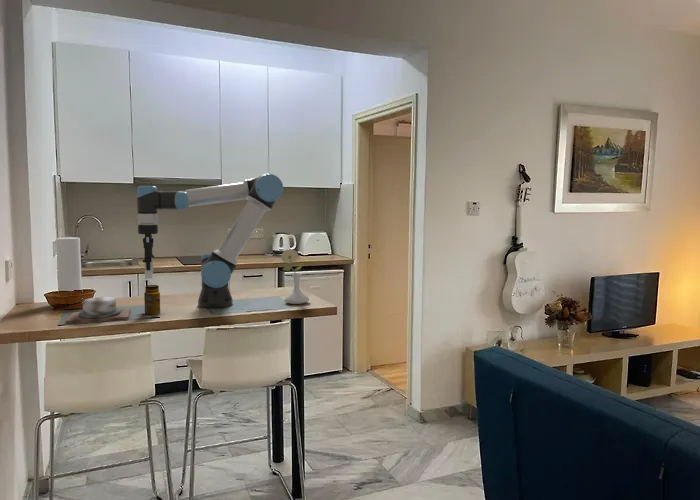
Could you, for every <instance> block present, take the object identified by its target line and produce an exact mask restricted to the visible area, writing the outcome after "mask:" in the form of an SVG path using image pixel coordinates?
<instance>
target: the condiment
mask: <svg viewBox="0 0 700 500" xmlns="http://www.w3.org/2000/svg"><path fill="white" fill-rule="evenodd" d="M144 287H145V290H144V296H143V297H144V299H143V300H144V312H143V313H138V314H136V315H137V316H140V317H144V318H145V317H146V318H150V317H151V318H152V317H154V316H155V317H156V316H160V315H164V314H165V312H161V293H160V289H159V287H160V286H159V285H158V284H148V285H145V286H144Z"/></svg>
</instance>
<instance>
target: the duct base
mask: <svg viewBox="0 0 700 500" xmlns="http://www.w3.org/2000/svg"><path fill="white" fill-rule="evenodd" d="M131 313H132V309H131V308H129V309H128V308H127V309H125V308H124V309H119V308H117V298H116V297H111V296H97V297H91V298H90V297H89V298H85V299H83V302H82V311H77V312H76V311H75V312H71V314H70V315H69V316H68V317H67V318H66V320H65V324H66V325H67V324H68V325H69V324H83V323H85V324H86V323H98V322H101V323H102V322H115V321H128V320H130V316H131Z"/></svg>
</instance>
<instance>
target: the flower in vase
mask: <svg viewBox="0 0 700 500" xmlns="http://www.w3.org/2000/svg"><path fill="white" fill-rule="evenodd" d="M280 258H281V261H282V262H283V263H286V264H290V266H288V265H287V266H284V267H283V268H282V269H281V270H282V271H287V272H288V271H290V270H291V269H292V271H293V272H291V274H290V275H291V276H292V278H293V282H294V283H293V284H294V286H293V290H292V291H291V292H289V293H288V294H287V295H286V296H285V297H284V299H283V301H284V302H285V303H287V304H291V305H301V304H305V303H308V302H309V300H310V298H309V296H308V295H306V294H305V293H304V292H303V291H302V290H301V289H300V280H301V276H302V275H303V273H302V272H296V271H300V270H301V269H302V267H303V265H300V266H297V267H295V269H294V268H293V266H292V264H293V263H295V262H297V260H298V258H299V254H298V252H297V250H294V249H291V248H289V249H286V250H284V251H283V252H282V253H281V255H280Z"/></svg>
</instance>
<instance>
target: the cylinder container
mask: <svg viewBox="0 0 700 500" xmlns="http://www.w3.org/2000/svg"><path fill="white" fill-rule="evenodd" d="M55 245H56V246H55V247H56V260H57V261H56V263H57V282H58V283H57V284H58V286H57V287H58V292H59V291H74V290H82V291H83V283H82V282H83V281H82V277H83V276H82V261H81V260H82V258H81V256H82V255H81V239H80V237H75V236H73V237H72V236H64V237H57V238H56V239H55Z"/></svg>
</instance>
